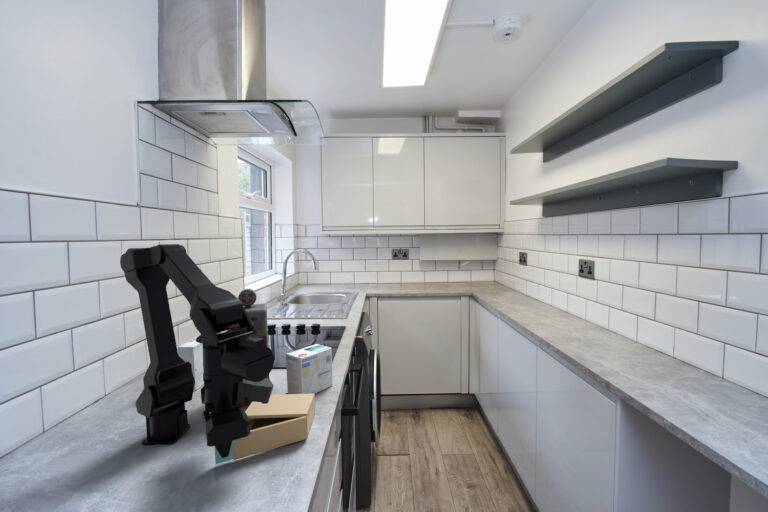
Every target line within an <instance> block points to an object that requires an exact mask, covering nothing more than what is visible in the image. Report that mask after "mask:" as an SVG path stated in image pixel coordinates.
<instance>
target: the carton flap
mask: <svg viewBox="0 0 768 512" xmlns="http://www.w3.org/2000/svg"><path fill="white" fill-rule="evenodd" d="M304 440H308V438H307V418H306V416H303V417H299V418H296V419H292V420H288V421H284V422H280V423H277V424H273V425H269V426H265V427H261V428H258V429H254V430H250V434H249V435H248V436H247V437H244V438H240V439H237V440H233V441H232V444H231V448H230V452H229V456H228V457H225V458H222V457H221V456H220V454H219V452H218V451H217V449H216V447H215V446H214V457H215V458H214V461H215V465H218V464H222V463H225V462H229V461H231V460H233V461H235V460H236V461H237V460H239V459H242V458H246V457H249V456H252V455H257V454H259V453H260V454H261V453H264V452H267V451H268V450H274V449H277V448H280V447H283V446H287V445H290V444H294V443H297V442H300V441H304Z"/></svg>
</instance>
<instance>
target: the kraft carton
mask: <svg viewBox="0 0 768 512" xmlns="http://www.w3.org/2000/svg"><path fill="white" fill-rule="evenodd" d="M315 394H316V393H314V394H289V393H288V394H287V393H286V394H283V393H282V394H271V396H270V399H269V402H268V403H267V404H262V403H261V402H253V401H252V403H251V404H250V406H247V409H246V410H245V411H244V412H245V413H246V414H247V416H248V419H249V422H250V430H254V429H258V428H261V427H265V426H269V425H273V424H277V423H280V422H284V421H288V420H292V419H296V418H299V417H303V416H306V418H307V439H308V437H309V435H310V431H311V428H312V426H313V422H314V420H315V416H316V402H315V401H316V398H315Z"/></svg>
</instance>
